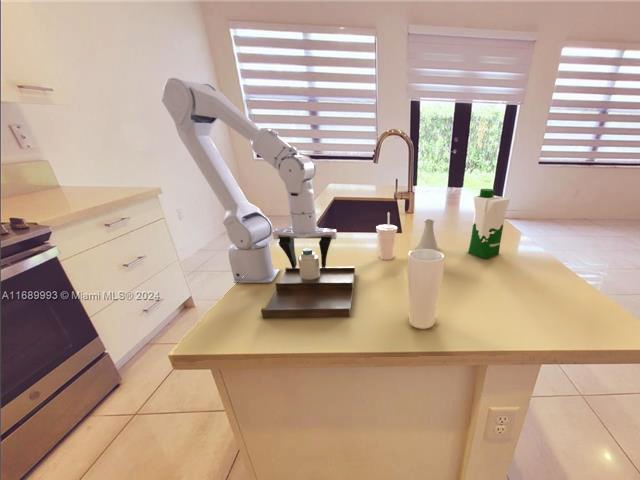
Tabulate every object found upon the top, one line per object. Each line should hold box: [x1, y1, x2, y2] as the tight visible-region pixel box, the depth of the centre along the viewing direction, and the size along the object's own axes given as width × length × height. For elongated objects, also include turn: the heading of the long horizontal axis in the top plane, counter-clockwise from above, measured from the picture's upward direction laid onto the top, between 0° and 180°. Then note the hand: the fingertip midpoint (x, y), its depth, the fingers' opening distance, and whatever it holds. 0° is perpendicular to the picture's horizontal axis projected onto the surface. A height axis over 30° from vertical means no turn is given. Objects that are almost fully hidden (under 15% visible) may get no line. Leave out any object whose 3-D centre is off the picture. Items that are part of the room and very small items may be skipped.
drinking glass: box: [406, 248, 445, 330], centre depth 61 cm, size 7×7×15 cm
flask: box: [416, 218, 439, 251], centre depth 103 cm, size 7×7×10 cm
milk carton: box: [467, 188, 510, 260], centre depth 98 cm, size 9×9×20 cm
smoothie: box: [375, 211, 398, 261], centre depth 95 cm, size 6×6×14 cm
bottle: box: [297, 247, 320, 280], centre depth 78 cm, size 5×5×7 cm
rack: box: [260, 266, 356, 319], centre depth 74 cm, size 18×21×3 cm
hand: (309, 266), depth 78 cm, fingers open, 7 cm apart
